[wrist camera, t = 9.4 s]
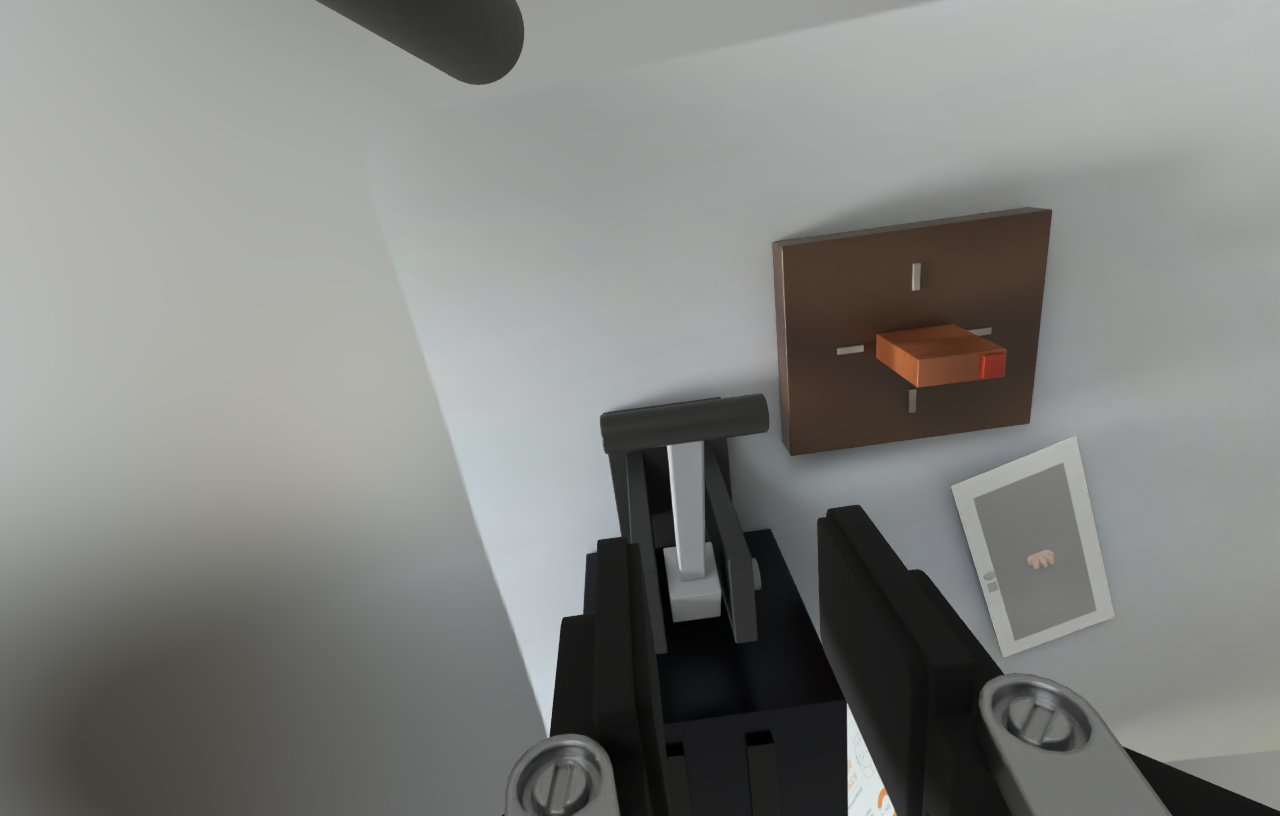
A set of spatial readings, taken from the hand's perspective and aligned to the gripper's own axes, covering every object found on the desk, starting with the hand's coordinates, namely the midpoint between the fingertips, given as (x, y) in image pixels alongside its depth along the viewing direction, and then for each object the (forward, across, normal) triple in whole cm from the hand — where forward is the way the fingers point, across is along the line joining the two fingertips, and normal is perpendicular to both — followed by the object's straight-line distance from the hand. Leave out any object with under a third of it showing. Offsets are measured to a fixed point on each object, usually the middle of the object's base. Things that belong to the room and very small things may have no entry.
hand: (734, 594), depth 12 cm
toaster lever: (+12, 0, +5) cm, 13 cm away
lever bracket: (+25, 0, +10) cm, 27 cm away
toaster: (+25, 0, +20) cm, 32 cm away
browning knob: (+23, -14, +3) cm, 27 cm away
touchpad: (+25, -23, +19) cm, 39 cm away
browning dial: (+25, -14, +3) cm, 29 cm away
